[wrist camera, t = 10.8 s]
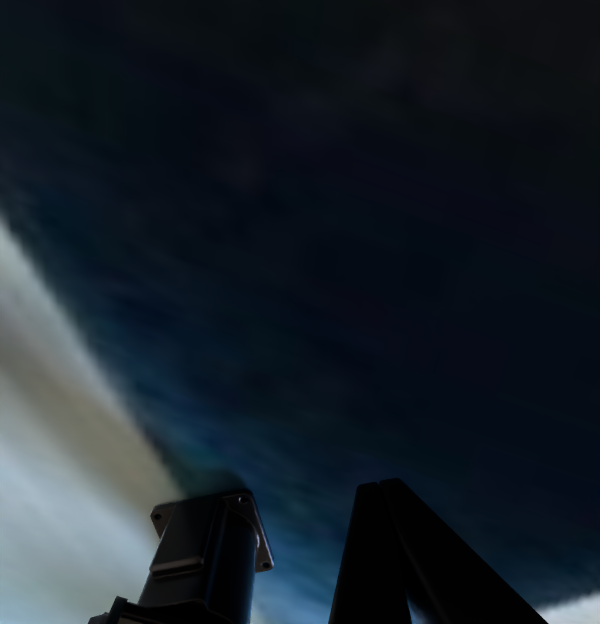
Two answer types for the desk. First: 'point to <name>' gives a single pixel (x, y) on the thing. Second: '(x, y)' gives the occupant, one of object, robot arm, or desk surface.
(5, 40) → the desk surface
